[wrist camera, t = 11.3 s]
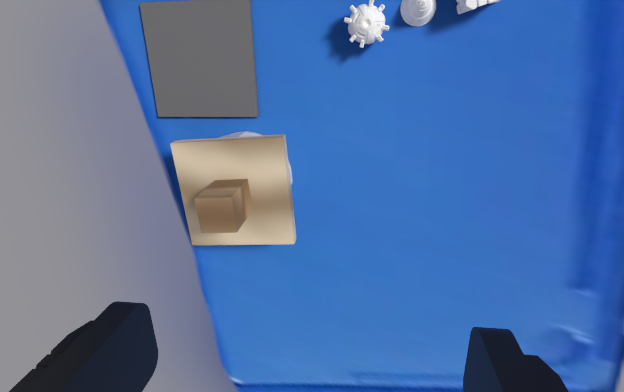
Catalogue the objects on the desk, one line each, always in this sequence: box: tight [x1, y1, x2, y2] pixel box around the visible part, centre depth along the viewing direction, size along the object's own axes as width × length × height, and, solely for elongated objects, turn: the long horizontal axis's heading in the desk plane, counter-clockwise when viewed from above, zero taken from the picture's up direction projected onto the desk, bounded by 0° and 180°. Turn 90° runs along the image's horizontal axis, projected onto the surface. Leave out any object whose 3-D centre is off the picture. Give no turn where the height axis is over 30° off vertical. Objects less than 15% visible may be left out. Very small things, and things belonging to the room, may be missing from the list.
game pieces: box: [344, 0, 500, 48], centre depth 30 cm, size 12×3×3 cm, turn 108°
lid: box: [170, 134, 296, 245], centre depth 32 cm, size 10×10×6 cm
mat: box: [139, 0, 259, 117], centre depth 35 cm, size 10×10×1 cm
